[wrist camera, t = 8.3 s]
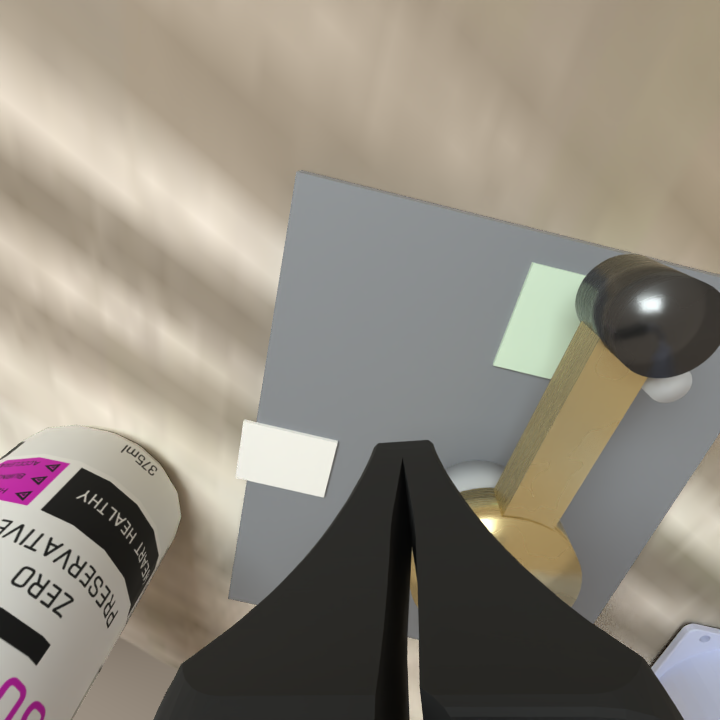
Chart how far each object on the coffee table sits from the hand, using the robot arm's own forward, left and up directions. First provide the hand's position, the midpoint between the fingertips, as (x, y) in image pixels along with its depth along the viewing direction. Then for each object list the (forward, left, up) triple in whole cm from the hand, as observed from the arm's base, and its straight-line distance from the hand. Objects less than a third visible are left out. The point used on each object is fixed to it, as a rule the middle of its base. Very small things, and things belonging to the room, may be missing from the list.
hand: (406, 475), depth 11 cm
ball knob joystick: (-5, +2, -5) cm, 7 cm away
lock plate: (-4, +5, -8) cm, 10 cm away
